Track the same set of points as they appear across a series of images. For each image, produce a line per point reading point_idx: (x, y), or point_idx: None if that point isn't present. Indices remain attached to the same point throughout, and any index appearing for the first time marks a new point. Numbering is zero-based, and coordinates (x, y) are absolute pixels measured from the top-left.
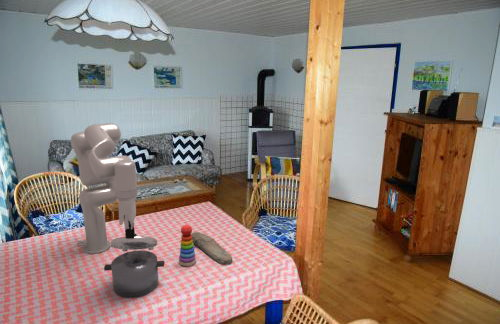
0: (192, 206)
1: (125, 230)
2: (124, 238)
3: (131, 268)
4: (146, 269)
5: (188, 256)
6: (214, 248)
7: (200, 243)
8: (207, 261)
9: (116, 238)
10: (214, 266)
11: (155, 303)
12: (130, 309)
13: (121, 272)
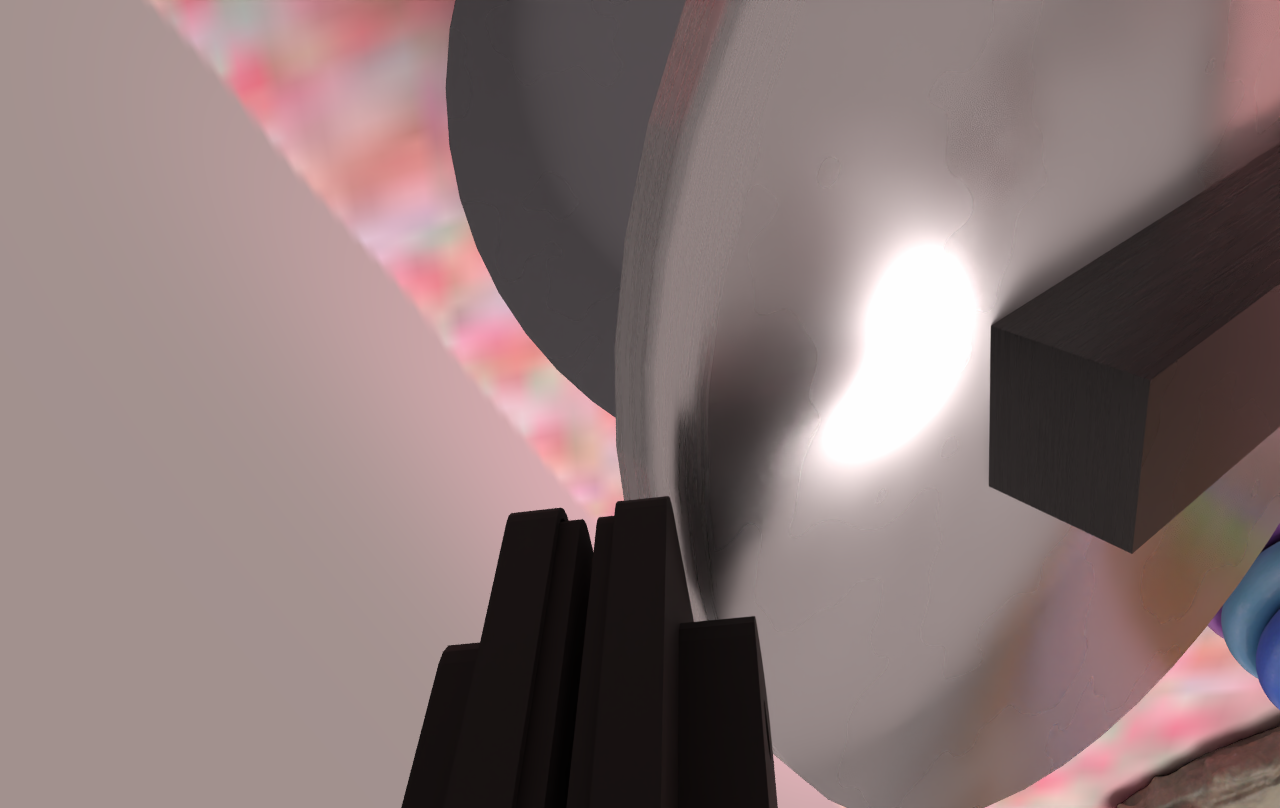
0: None
1: (458, 802)
2: (670, 371)
3: (618, 158)
4: (600, 403)
5: (1225, 631)
6: None
7: None
8: (1225, 687)
9: None
10: (1103, 743)
11: (455, 340)
12: (309, 100)
13: (468, 11)
